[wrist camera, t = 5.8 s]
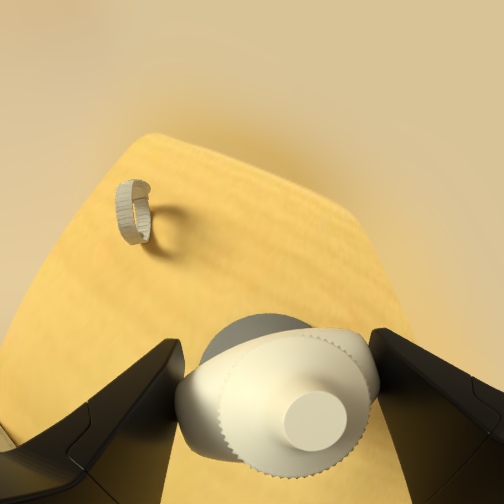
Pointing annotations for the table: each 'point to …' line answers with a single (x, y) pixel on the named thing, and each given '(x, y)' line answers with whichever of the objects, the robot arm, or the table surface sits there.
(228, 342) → the charcoal coaster
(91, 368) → the table surface
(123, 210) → the wristwatch
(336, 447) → the eye dropper bottle
